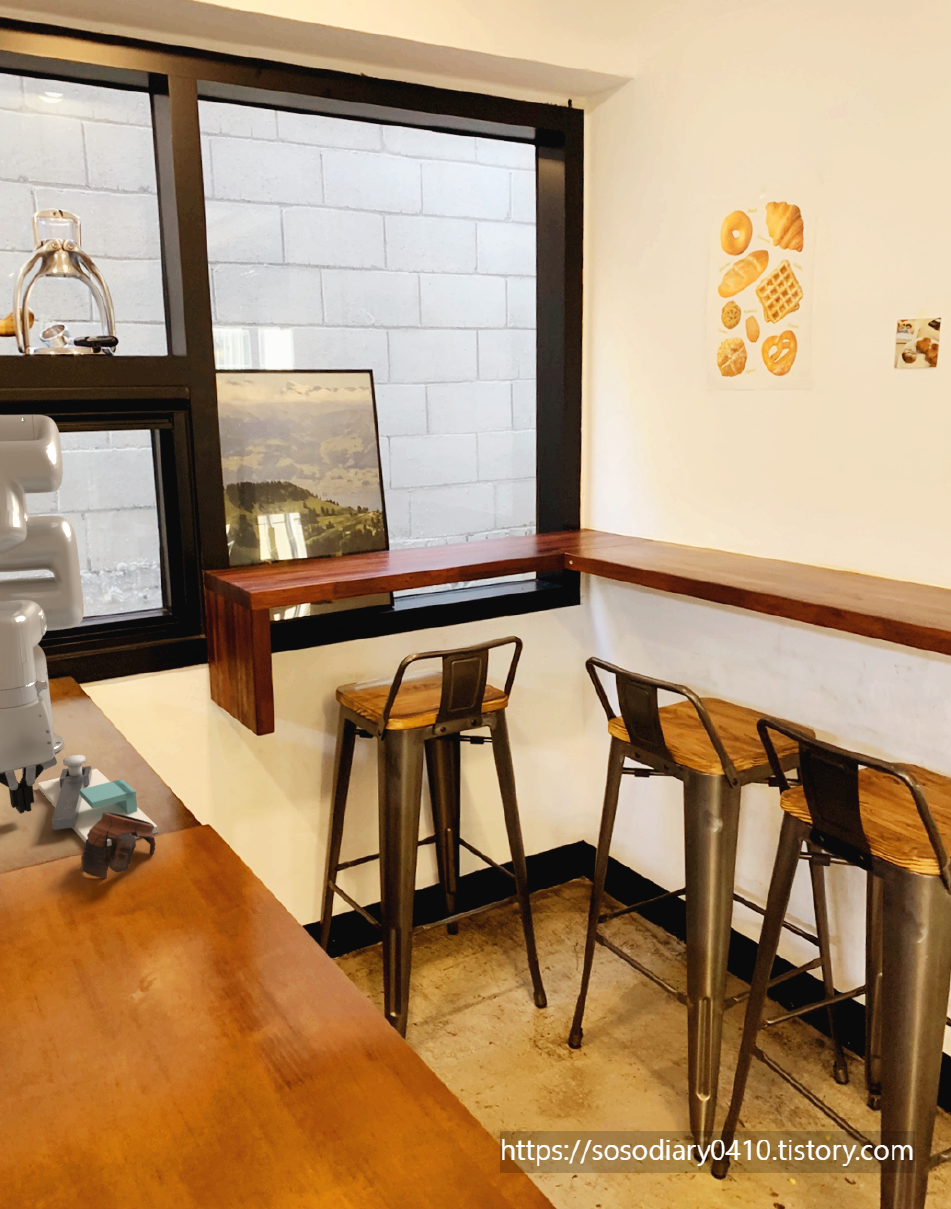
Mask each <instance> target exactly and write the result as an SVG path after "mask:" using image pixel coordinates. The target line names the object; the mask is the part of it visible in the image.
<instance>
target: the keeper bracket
mask: <svg viewBox="0 0 951 1209" xmlns="http://www.w3.org/2000/svg"><path fill="white" fill-rule="evenodd" d="M80 796H81V797H82V798H83V799H84V800H85V801H86V802H87V803H88V804H89V805H90V806H91V807H92V809H94V808H98V807H102V806H105V805H109V804H113V803H117V804H118V805H119V806H120V807H121V808H122V809H123V810H124V811H125V812H126V813H127V814H129V813H132V812H136V811H137V807H138V803H137V791H136V790H135V789H134V788H133V787H132V786H131V785H129V783H127V782H126V781H125V780H124V779H123V778H120V779H117V780H113V781H110V782H108V783H104V784H100V785H96V786H92V787H88V788H84V789H80Z"/></svg>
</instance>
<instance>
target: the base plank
mask: <svg viewBox="0 0 951 1209" xmlns="http://www.w3.org/2000/svg"><path fill="white" fill-rule="evenodd" d="M86 759H87V758H86V756H85V755H83V754H73V755H69V756H66V757H64V758H63V759H62V765H63V766H65V767H68V768H67V769H69V776H78V775H82V767H83V766H82V765H83V764H85V763H86ZM91 770H92V776H91V780H90V785H85V787H84V788H88V787H92V786H96V785H100V784H104V783H108V782H111V781H110V779H108V778H107V777H106V776H105V775H104V774H103V773H102V772H101V771H100V770H99V769H98V768H93V769H91ZM37 786H38V787H39V788H40V789H41V791H42V792H43V793H44V794H43V793H42V792H41V791H40V792H41V793H42V794H43V796H44V795H45V796H46V797H45V798H46V799H47V800H48V802H49V803H50V802H51V803H52V804H51V803H50V804H51V805H52V806H53V807H54V809H55V808H56V805H57V801H58V798H59V795H60V791H61V788H60V777H56V778H52V779H49V780H44V781H39V782H37ZM104 812H110V813H116V814H120V815H125V816H129V817H132V818H136V819H140V820H143V821H147V822H149V823H151V824H153V825H154V828H153V831H152V833H153V835H154V834H157V833H159V828H158V825H157V824H156V823H155V822H154V821H153V820H152V819H151V818H149V816H148V815H146V814H145V813H144V812H143V810H141V809H140V808H139V807H138V806H137V811H136V812H132V813H129V814H127V813H126V812H125V811H124V810H123V809H122V808H121V807H120V806H119V805H118V804H117V803H113V804H109V805H105V806H102V807H98V808H94V809H92V807H91V806H90V805H89V804H88V803H87V802H86V801H85V800H84V799H83V798H82V799H81V804H80V808H79V812H78V816H77V820H76V824H75V827H73V828H72V829H73V831H74V832H75V833H76V834H77V835H78V836H79V838H80V839H81V840H82V841H83V842H84V843H85V842H86V840H87V839H88V837H87V834H88V833H89V830H90V829H91V828H92V827H93V826H94V825H95V824H96V823H97V822H98V821H100V820H101V819H102V815H103V813H104ZM140 838H141V837H136V836H135V840H138V839H140ZM141 839H142V838H141ZM110 845H112V844H111V840H110V839H108V840H107V846H110Z"/></svg>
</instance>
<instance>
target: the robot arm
mask: <svg viewBox="0 0 951 1209" xmlns="http://www.w3.org/2000/svg"><path fill="white" fill-rule="evenodd" d="M58 428H59V427H58V426H57V424H56V422H55V421H54V419H52V418H51V417H49V416H47V415H43V414H0V573H15V572H16V573H18V572H31V571H40V570H47V571H49V572H51V573H52V574H53V576H46V577H44V576H43V577H34V578H15V579H4V580H0V784H2V785H4V786H5V787H7V788H8V792H9V800H10V806H11V807H12V809H16V811H17V812H18V813H19V814H24V813H26V812H27V813H29V812H31V811H32V804H33V803H35V795H34V786H33V785H35V784H36V780H37V778H38V777H39V776H40V775H41V774H42V773H43V771H46V770H48V769H50V768H52V767H54V766H56V765H57V763H58V761H57V758H56V755H55V754H57V753H58V752H60V751H61V750H62V749H63V748H64V746H65V740H64V737H63V736H62V735H60V734H57V733H55V731H54V722H53V711H52V705H51V702H52V701H51V695H50V694H51V693H50V685H49V684H50V683H49V675H48V668H47V667H48V664H47V659H46V658H47V657H46V654H45V652H44V650H43V649H42V647H41V646H40V644H39V643H40V642H41V640H42V638H43V636H45V634H46V632H47V631H49V632H50V631H57V630H58V631H60V630H65V629H66V630H67V629H72V628H75V627H77V626H79V625H80V624H81V622H82V621H83V618H84V612H85V611H84V610H85V608H84V595H83V586H82V578H81V577H82V576H81V569H80V568H81V567H80V560H79V552H78V551H79V550H78V544H77V538H76V533H75V529H74V527H73V525H72V523H71V522H70V521H69V520H68V519H67V518H65V517H63V516H60V515H37V516H36V515H35V516H31V515H29V513H28V509H27V508H28V506H27V499H26V495H27V494H42V493H43V494H46V493H47V494H48V493H53V492H56V491H58V490H59V489H60V487H61V485H62V482H63V473H64V472H63V470H64V469H63V466H64V465H63V454H62V445H61V444H62V443H61V437H60V436H61V435H60V432H59V429H58ZM16 770H17V771H18V770H21V779H20V781H18V779H17V776H16V773H15V771H16Z"/></svg>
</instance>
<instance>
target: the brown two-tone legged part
mask: <svg viewBox="0 0 951 1209" xmlns="http://www.w3.org/2000/svg"><path fill="white" fill-rule="evenodd" d="M153 828H154V825H153V824H151V823H149V822H147V821H143V820H140V819H136V818H132V817H129V816H125V815H120V814H116V813H110V812H104V813H103V815H102V819H101V820H100V821H98V822H97V823H96V824H95V825H94V826H93V827H92V828H91V829H90V830H89V833H88V834H87V837H88V839H87V840H86V842H84V848H83V850H84V851H83V852H82V854H81V855H80V856H81V857H80V859H81V864H80V870H81V871H82V872H84V873H86V874H88V875H90V876H93V877H95V878H96V877H97V878H100V879H105V880H106V878H108V877H107V876H108V870H109V869H111V871H113V872H114V873H118V874H119V873H122V872H124V871H127V870H129V868H130V865H131V860H132V856H133V854H134V852H135V849H136V847H137V843H136V839H135V836H136V837H141V839H143V840H145V841H146V842H147V844H149V851H148V853H149V855H150V856H152V855H154V854H155V850H156V839H155V836H154V834H153V833H152V831H153ZM108 839H110V840H111V844H112V845H110V846H107V840H108Z"/></svg>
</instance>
